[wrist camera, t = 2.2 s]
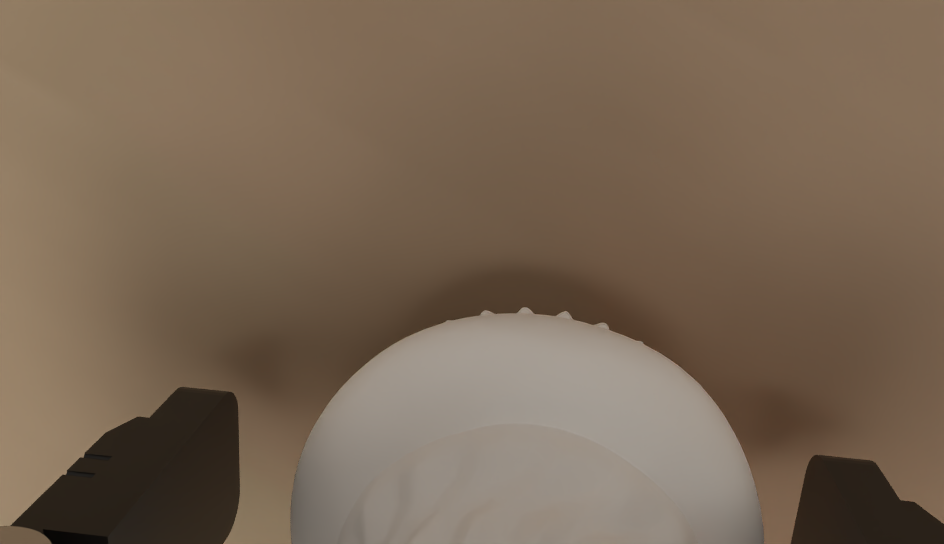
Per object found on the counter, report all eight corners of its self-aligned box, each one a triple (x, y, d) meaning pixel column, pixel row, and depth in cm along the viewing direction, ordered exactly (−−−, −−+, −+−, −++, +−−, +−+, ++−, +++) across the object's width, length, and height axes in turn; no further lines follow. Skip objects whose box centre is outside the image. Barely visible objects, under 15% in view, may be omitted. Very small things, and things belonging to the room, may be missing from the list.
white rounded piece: (511, 158, 14) (451, 320, 7) (802, 402, 14) (1002, 761, 8) (284, 426, 15) (65, 756, 9) (551, 630, 16) (535, 1078, 9)
